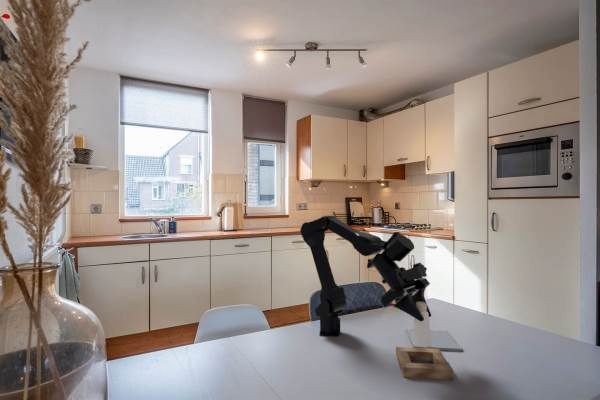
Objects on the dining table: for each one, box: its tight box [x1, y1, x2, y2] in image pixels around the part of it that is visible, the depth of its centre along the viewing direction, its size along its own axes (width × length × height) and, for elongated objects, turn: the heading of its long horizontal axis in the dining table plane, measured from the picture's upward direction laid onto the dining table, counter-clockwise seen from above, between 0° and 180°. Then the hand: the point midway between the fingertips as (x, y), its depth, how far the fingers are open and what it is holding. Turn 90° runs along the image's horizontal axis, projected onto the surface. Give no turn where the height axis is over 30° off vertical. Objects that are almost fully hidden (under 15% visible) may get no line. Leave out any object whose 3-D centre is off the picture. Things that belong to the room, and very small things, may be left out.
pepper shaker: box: [411, 302, 432, 348], centre depth 89 cm, size 5×5×11 cm
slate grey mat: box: [404, 328, 463, 352], centre depth 105 cm, size 14×14×1 cm
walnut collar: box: [395, 346, 454, 381], centre depth 88 cm, size 12×12×2 cm
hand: (426, 318), depth 88 cm, fingers closed on pepper shaker, 4 cm apart
